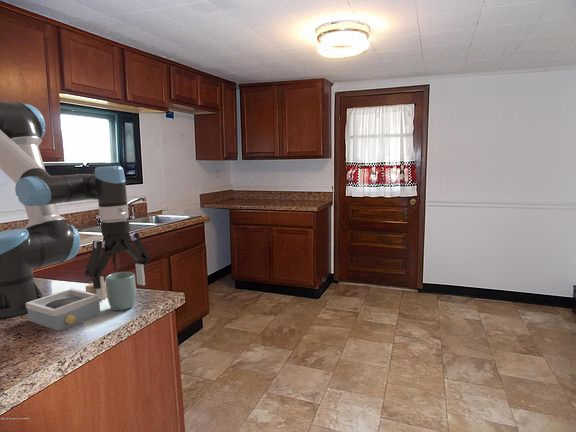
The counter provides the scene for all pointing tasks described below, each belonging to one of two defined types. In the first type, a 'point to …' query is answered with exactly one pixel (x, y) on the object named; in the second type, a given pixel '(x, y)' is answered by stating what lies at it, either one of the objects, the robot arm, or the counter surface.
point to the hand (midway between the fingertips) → (122, 291)
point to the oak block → (91, 289)
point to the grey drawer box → (63, 308)
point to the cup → (121, 290)
